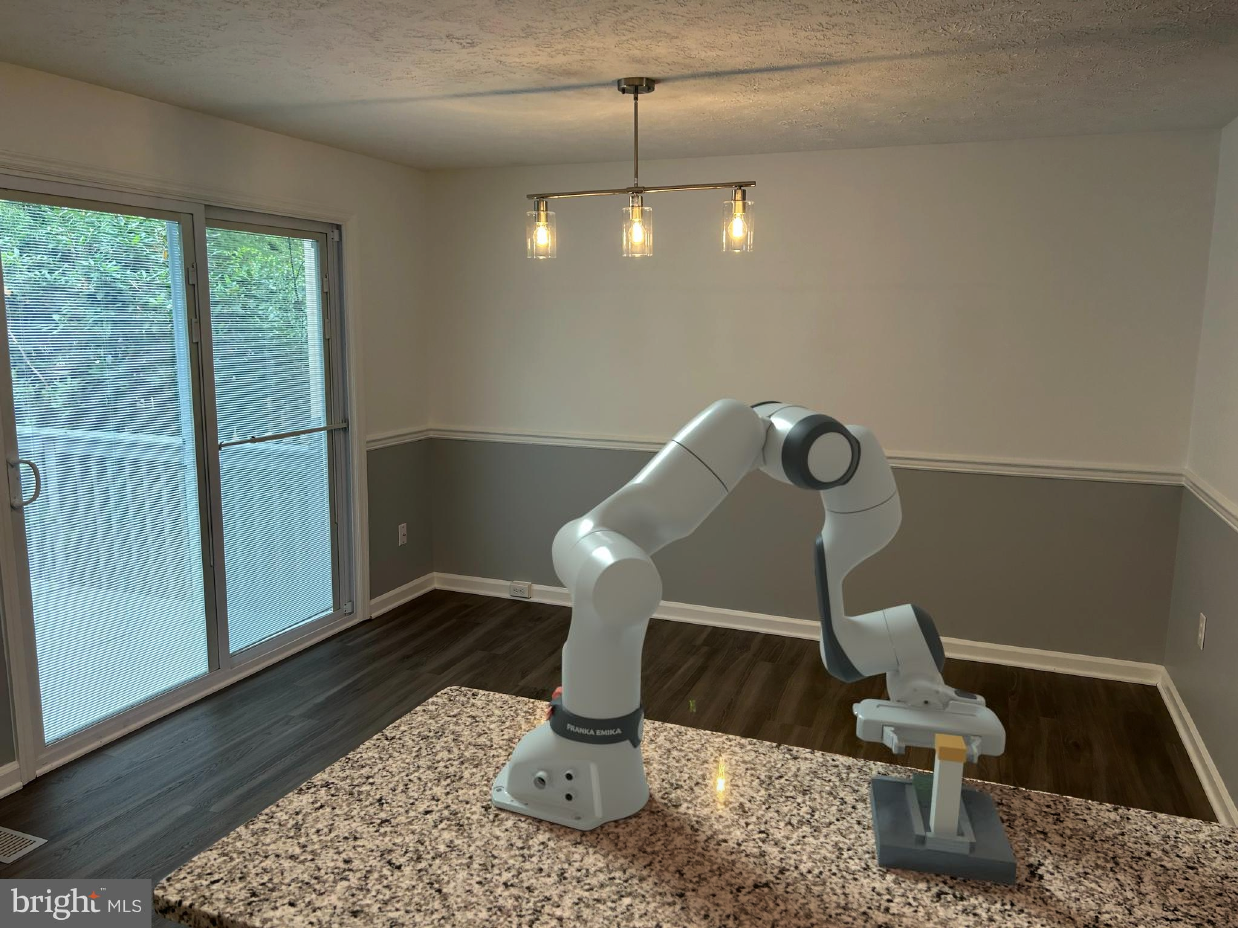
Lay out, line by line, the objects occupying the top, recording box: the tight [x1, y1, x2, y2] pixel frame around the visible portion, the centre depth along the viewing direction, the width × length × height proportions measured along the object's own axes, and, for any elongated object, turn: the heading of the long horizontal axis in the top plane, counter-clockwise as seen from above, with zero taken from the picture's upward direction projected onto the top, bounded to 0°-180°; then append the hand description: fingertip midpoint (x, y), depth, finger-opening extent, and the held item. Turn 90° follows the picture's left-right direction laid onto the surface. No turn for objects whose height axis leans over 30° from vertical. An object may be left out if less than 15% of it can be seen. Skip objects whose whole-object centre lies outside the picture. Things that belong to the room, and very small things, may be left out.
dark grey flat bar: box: [874, 774, 978, 791], centre depth 125 cm, size 14×4×1 cm, turn 78°
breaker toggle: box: [930, 734, 967, 836], centre depth 110 cm, size 3×3×12 cm
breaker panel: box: [869, 772, 1018, 886], centre depth 115 cm, size 16×16×5 cm
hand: (935, 753), depth 118 cm, fingers open, 8 cm apart
